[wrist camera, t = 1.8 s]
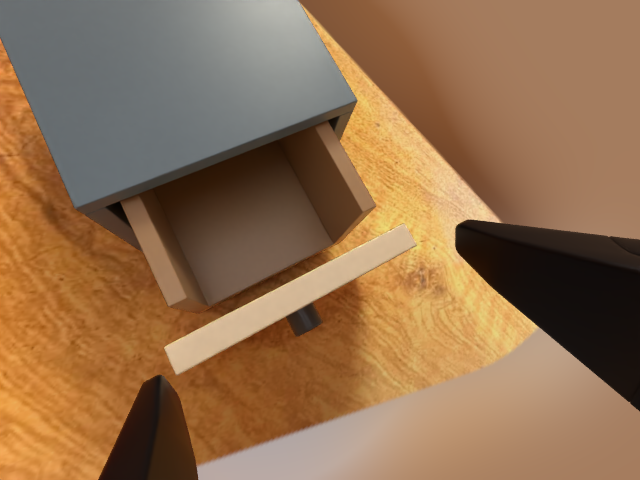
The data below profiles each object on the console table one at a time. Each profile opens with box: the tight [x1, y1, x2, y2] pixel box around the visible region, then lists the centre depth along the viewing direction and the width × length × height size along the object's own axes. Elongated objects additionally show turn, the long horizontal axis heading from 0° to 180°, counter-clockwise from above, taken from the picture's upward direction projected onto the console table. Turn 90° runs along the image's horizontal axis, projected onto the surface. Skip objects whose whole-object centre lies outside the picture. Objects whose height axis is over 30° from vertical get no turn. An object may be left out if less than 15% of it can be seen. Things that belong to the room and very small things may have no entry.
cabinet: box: [0, 0, 357, 252], centre depth 20 cm, size 15×13×10 cm
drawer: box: [120, 120, 417, 375], centre depth 19 cm, size 15×11×8 cm
